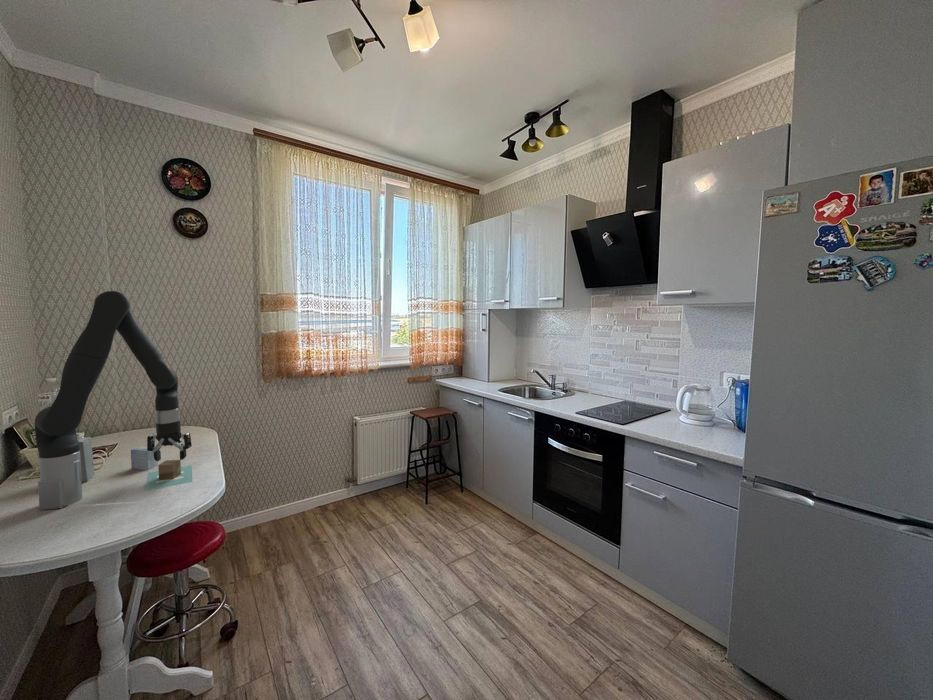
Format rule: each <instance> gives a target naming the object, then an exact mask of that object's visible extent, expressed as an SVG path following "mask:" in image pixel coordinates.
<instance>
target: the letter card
mask: <svg viewBox="0 0 933 700" xmlns="http://www.w3.org/2000/svg"><path fill="white" fill-rule="evenodd" d="M188 483H193V465H192V464H190V465H185V466H181V474H180V475H179V476H177V477H176V478H175V479H168V480H159V470H157V471H156V470H155V471H151V472H148V476H147V480H146V483H145V488H144V492H147V491H152V490H157V489H161V488H166V487H172V486H177V485H183V484H188Z"/></svg>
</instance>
